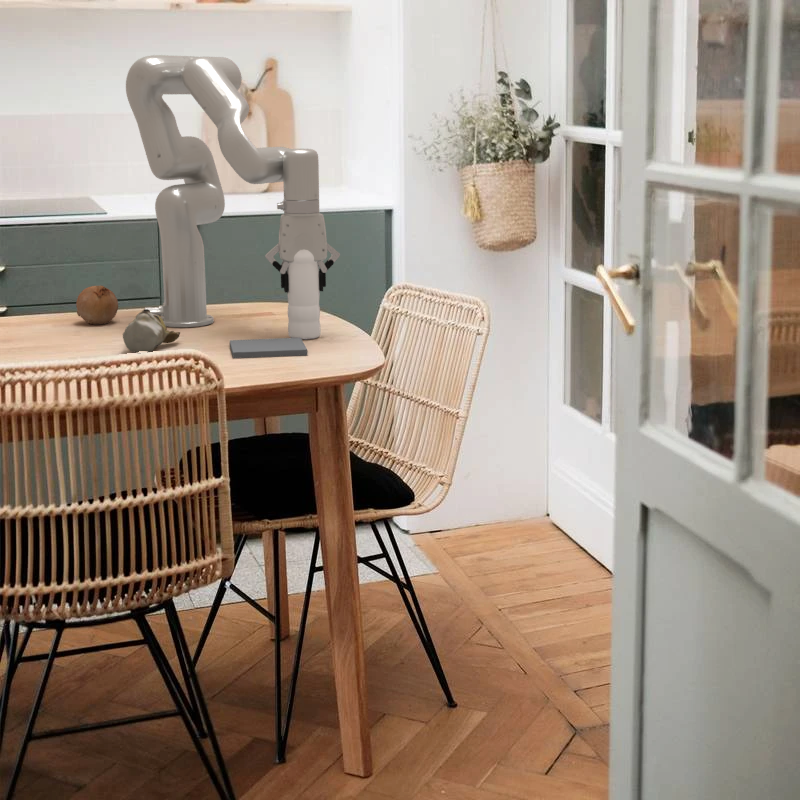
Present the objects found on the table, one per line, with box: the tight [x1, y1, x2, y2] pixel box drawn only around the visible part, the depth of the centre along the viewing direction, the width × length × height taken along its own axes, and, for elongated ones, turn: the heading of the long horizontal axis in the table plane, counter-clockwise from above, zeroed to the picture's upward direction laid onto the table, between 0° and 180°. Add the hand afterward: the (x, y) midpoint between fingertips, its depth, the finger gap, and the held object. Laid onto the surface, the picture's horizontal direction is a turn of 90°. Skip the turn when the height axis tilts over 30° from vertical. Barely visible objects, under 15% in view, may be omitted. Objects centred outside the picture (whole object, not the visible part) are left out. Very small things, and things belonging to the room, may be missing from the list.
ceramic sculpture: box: [122, 308, 181, 353], centre depth 268 cm, size 11×9×15 cm
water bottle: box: [286, 249, 321, 341], centre depth 277 cm, size 7×7×25 cm
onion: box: [75, 284, 119, 325], centre depth 296 cm, size 10×9×10 cm
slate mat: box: [229, 337, 308, 359], centre depth 266 cm, size 15×13×1 cm
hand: (303, 290), depth 277 cm, fingers closed on water bottle, 6 cm apart
